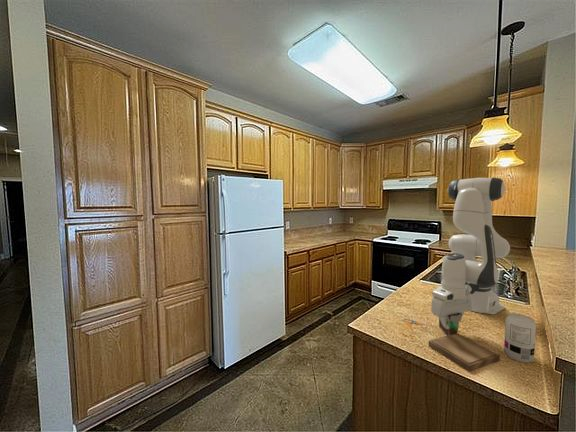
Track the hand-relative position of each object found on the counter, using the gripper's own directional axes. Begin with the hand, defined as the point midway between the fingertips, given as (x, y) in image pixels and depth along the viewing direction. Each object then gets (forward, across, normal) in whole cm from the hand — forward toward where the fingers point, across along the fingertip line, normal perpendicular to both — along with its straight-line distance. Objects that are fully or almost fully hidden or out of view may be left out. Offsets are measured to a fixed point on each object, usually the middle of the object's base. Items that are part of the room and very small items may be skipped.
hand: (451, 322), depth 108 cm
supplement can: (+5, -9, +20) cm, 22 cm away
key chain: (+6, +7, -11) cm, 15 cm away
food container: (+5, -1, -1) cm, 5 cm away
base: (+5, +8, +11) cm, 15 cm away
